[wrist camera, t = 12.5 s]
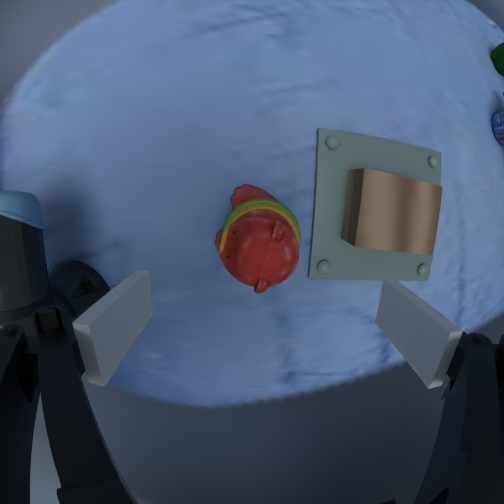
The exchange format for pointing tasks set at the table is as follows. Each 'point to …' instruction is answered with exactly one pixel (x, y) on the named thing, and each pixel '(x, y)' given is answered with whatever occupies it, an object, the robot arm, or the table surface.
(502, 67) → the bell pepper
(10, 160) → the table surface
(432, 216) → the walnut brick
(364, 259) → the base plate
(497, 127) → the snack cup
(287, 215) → the stacking bear
